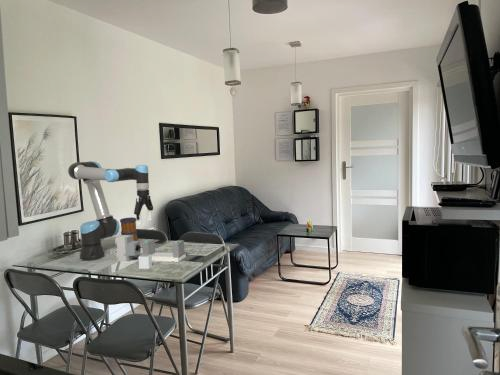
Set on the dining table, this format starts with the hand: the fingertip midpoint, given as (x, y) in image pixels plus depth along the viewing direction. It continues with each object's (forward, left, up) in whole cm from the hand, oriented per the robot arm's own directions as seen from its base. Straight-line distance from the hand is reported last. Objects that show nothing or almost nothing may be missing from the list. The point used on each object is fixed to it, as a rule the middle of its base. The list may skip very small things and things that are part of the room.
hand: (144, 222), depth 245 cm
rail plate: (+13, -1, -23) cm, 26 cm away
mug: (-30, +28, -23) cm, 47 cm away
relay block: (+11, -20, -23) cm, 32 cm away
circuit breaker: (-8, -7, -23) cm, 25 cm away
